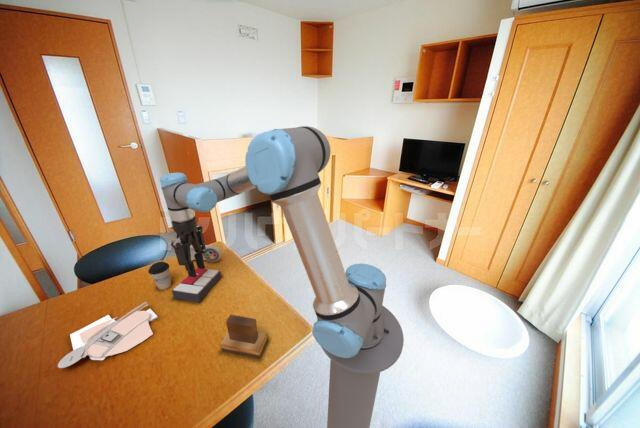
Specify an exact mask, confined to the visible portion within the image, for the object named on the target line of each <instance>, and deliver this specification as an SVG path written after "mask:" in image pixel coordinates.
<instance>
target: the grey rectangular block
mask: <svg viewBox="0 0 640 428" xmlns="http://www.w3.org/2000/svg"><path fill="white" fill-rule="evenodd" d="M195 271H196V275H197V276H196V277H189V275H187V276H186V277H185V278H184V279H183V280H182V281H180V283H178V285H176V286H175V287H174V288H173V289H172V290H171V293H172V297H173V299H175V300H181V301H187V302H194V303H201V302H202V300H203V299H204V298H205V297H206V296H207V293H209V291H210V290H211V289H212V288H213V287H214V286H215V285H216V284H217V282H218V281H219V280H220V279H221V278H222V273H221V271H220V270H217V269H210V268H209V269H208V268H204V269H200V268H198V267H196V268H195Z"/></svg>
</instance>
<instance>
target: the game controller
mask: <svg viewBox="0 0 640 428" xmlns="http://www.w3.org/2000/svg"><path fill="white" fill-rule="evenodd" d="M201 246H202V245H201ZM203 251H205V253H204V254H203V261H208V262H210V263H217V262H218V261H220V259H221V258H222V254H223V253H222V251H221V249H220V248H219V247H218V246H216V245H209V244H207V245H206V244H205V250H203ZM190 253H191V262H193V261H196V259H195V255H194V254H195V253H196V252H195V250H194V248H193V246H192V244H191V246H190ZM196 254H197V253H196Z"/></svg>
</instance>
